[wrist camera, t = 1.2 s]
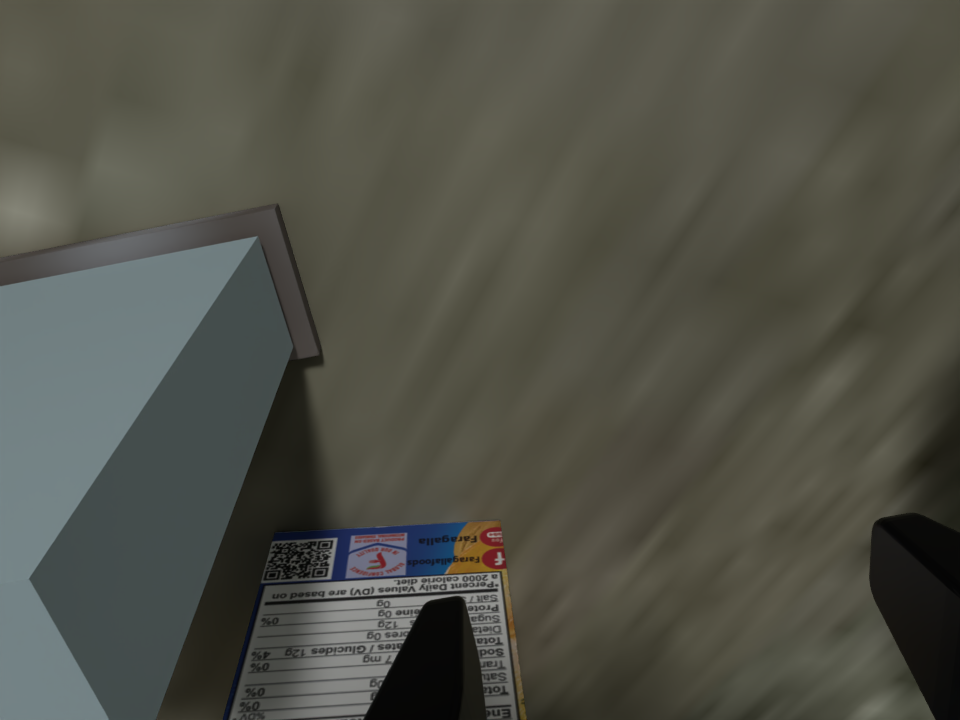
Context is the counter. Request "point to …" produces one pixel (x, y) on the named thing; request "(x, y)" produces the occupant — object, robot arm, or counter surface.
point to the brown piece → (181, 238)
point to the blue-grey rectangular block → (123, 467)
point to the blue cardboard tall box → (369, 617)
